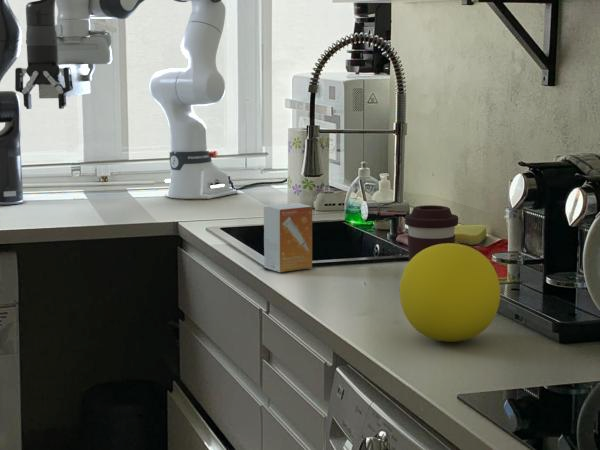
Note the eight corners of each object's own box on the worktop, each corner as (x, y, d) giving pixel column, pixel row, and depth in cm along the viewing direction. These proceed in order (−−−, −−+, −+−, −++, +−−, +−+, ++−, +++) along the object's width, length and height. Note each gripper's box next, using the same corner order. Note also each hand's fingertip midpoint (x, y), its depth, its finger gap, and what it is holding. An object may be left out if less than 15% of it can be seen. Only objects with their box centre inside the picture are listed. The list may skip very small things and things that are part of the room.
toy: (466, 322, 171) (468, 232, 169) (517, 346, 157) (519, 249, 155) (383, 332, 166) (383, 239, 164) (428, 358, 152) (429, 257, 150)
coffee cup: (400, 280, 202) (400, 204, 200) (450, 279, 203) (451, 203, 201) (409, 292, 193) (410, 212, 190) (462, 291, 193) (463, 211, 191)
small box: (280, 273, 210) (279, 209, 208) (263, 267, 216) (262, 205, 213) (313, 268, 215) (312, 205, 213) (296, 263, 220) (295, 202, 218)
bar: (59, 98, 267) (57, 64, 266) (39, 98, 268) (37, 64, 266) (90, 93, 293) (89, 62, 292) (71, 93, 294) (70, 62, 292)
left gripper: (74, 43, 266) (76, 107, 269) (19, 44, 267) (23, 108, 270) (64, 43, 259) (67, 109, 261) (9, 44, 260) (12, 109, 263)
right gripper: (114, 30, 289) (116, 80, 291) (42, 31, 291) (45, 81, 293) (107, 30, 283) (109, 81, 285) (34, 31, 285) (37, 82, 287)
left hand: (45, 108), depth 266 cm, fingers open, 8 cm apart
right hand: (76, 81), depth 289 cm, fingers closed on bar, 5 cm apart
